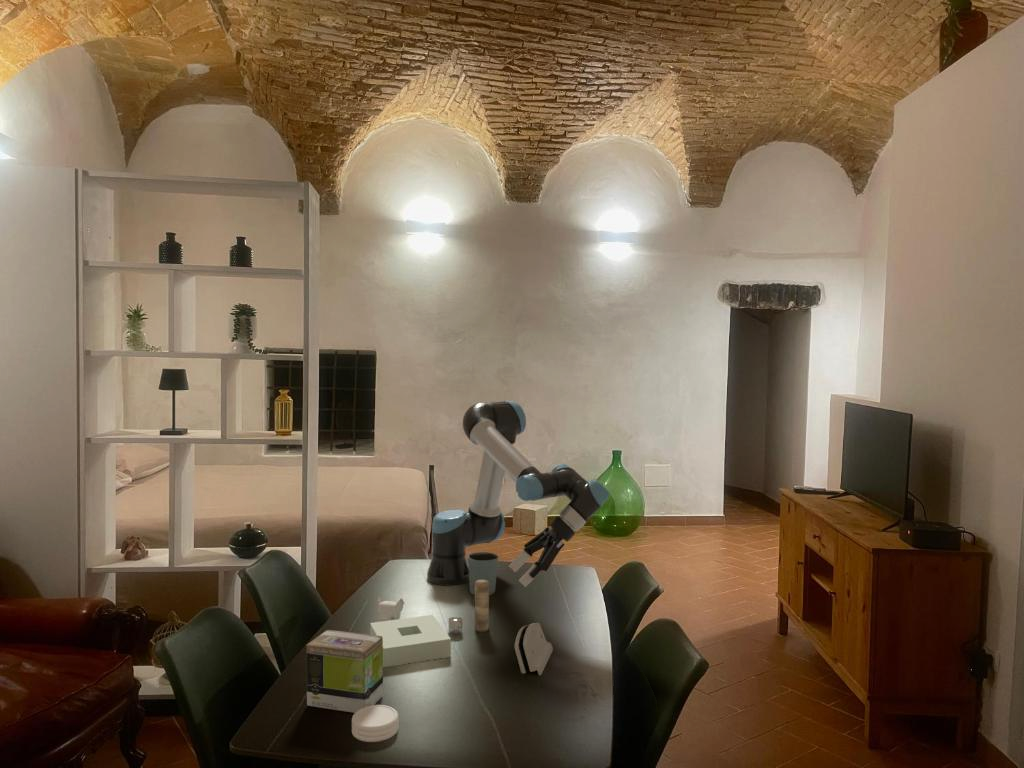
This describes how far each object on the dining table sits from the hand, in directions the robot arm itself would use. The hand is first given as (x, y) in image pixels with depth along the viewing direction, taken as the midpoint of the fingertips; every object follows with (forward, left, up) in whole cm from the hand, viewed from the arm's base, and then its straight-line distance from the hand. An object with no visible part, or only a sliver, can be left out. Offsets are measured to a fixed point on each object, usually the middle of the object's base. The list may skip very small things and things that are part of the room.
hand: (516, 576), depth 217 cm
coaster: (+42, -50, -16) cm, 67 cm away
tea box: (+27, -54, -15) cm, 62 cm away
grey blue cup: (-32, +1, -15) cm, 36 cm away
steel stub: (-2, -18, -15) cm, 24 cm away
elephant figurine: (-17, -34, -15) cm, 41 cm away
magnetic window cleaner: (+22, -4, -16) cm, 27 cm away
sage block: (+4, -33, -15) cm, 37 cm away
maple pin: (-2, -10, -15) cm, 18 cm away
